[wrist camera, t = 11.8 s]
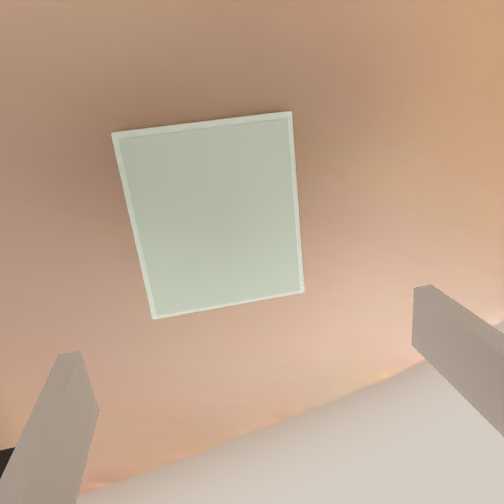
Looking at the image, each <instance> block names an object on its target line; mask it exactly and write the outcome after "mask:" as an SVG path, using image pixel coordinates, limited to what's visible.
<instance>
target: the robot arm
mask: <svg viewBox="0 0 504 504" xmlns="http://www.w3.org/2000/svg"><path fill="white" fill-rule="evenodd" d="M412 346H413V347H414V348H415V349H416V350H417V351H418V352H419V353H420V354H421V355H422V356H423V357H424V358H425V359H426V360H427V361H428V362H429V363H430V364H431V365H432V366H433V367H434V368H435V369H436V370H437V371H438V372H439V373H440V374H441V375H442V376H443V377H444V378H445V379H446V380H447V381H448V382H449V383H450V384H451V385H452V386H453V387H454V388H455V389H456V390H457V391H458V392H459V393H460V394H461V395H462V396H463V397H464V398H465V399H466V400H467V401H468V402H469V403H470V404H472V406H473V407H475V409H476V410H477V411H478V412H479V413H480V414H481V415H482V416H483V417H484V418H485V419H486V420H487V421H488V422H489V423H490V424H491V425H492V426H493V427H494V428H495V429H496V430H497V431H498V432H499V433H500V434H501V435H502V436H503V437H504V334H503V333H501V332H500V331H498V330H497V329H495V328H494V327H493V326H491V325H490V324H488V323H487V322H485V321H484V320H482V319H481V318H479V317H478V316H476V315H475V314H474V313H472V312H471V311H469V310H468V309H466V308H465V307H463V306H462V305H460V304H459V303H457V302H456V301H455V300H453V299H452V298H450V297H449V296H447V295H446V294H444V293H443V292H441V291H440V290H438V289H437V288H435V287H434V286H433V285H427V286H422V287H416V288H414V302H413V327H412ZM98 413H99V409H98V406H97V403H96V400H95V396H94V393H93V390H92V387H91V383H90V380H89V377H88V374H87V370H86V367H85V364H84V361H83V357H82V354H81V351H78V352H73V353H68V354H63V355H59V356H58V358H57V360H56V362H55V364H54V366H53V368H52V370H51V373H50V375H49V377H48V379H47V381H46V383H45V385H44V387H43V389H42V392H41V394H40V396H39V398H38V400H37V402H36V404H35V406H34V409H33V411H32V413H31V415H30V417H29V419H28V421H27V423H26V426H25V428H24V430H23V432H22V434H21V436H20V438H19V440H18V443H17V445H16V447H14V448H10V449H5V450H1V451H0V504H76V500H77V496H78V492H79V489H80V485H81V481H82V477H83V473H84V469H85V465H86V461H87V457H88V453H89V449H90V445H91V441H92V437H93V433H94V429H95V425H96V421H97V417H98Z"/></svg>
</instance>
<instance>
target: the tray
mask: <svg viewBox="0 0 504 504" xmlns="http://www.w3.org/2000/svg"><path fill="white" fill-rule="evenodd" d="M111 137H112V142H113V146H114V150H115V155H116V159H117V164H118V168H119V173H120V177H121V182H122V186H123V191H124V195H125V199H126V204H127V208H128V213H129V217H130V222H131V226H132V231H133V235H134V240H135V244H136V248H137V253H138V257H139V262H140V266H141V271H142V275H143V280H144V284H145V289H146V293H147V297H148V302H149V306H150V311H151V315H152V320H154V319H160V318H165V317H171V316H176V315H182V314H187V313H193V312H199V311H204V310H210V309H215V308H221V307H226V306H232V305H237V304H243V303H249V302H254V301H260V300H265V299H271V298H276V297H282V296H287V295H293V294H299V293H304V278H303V264H302V250H301V236H300V221H299V207H298V193H297V179H296V164H295V150H294V136H293V121H292V111H281V112H273V113H265V114H256V115H248V116H240V117H232V118H223V119H215V120H207V121H198V122H190V123H182V124H174V125H165V126H157V127H149V128H141V129H132V130H124V131H116V132H113V133H111Z"/></svg>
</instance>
